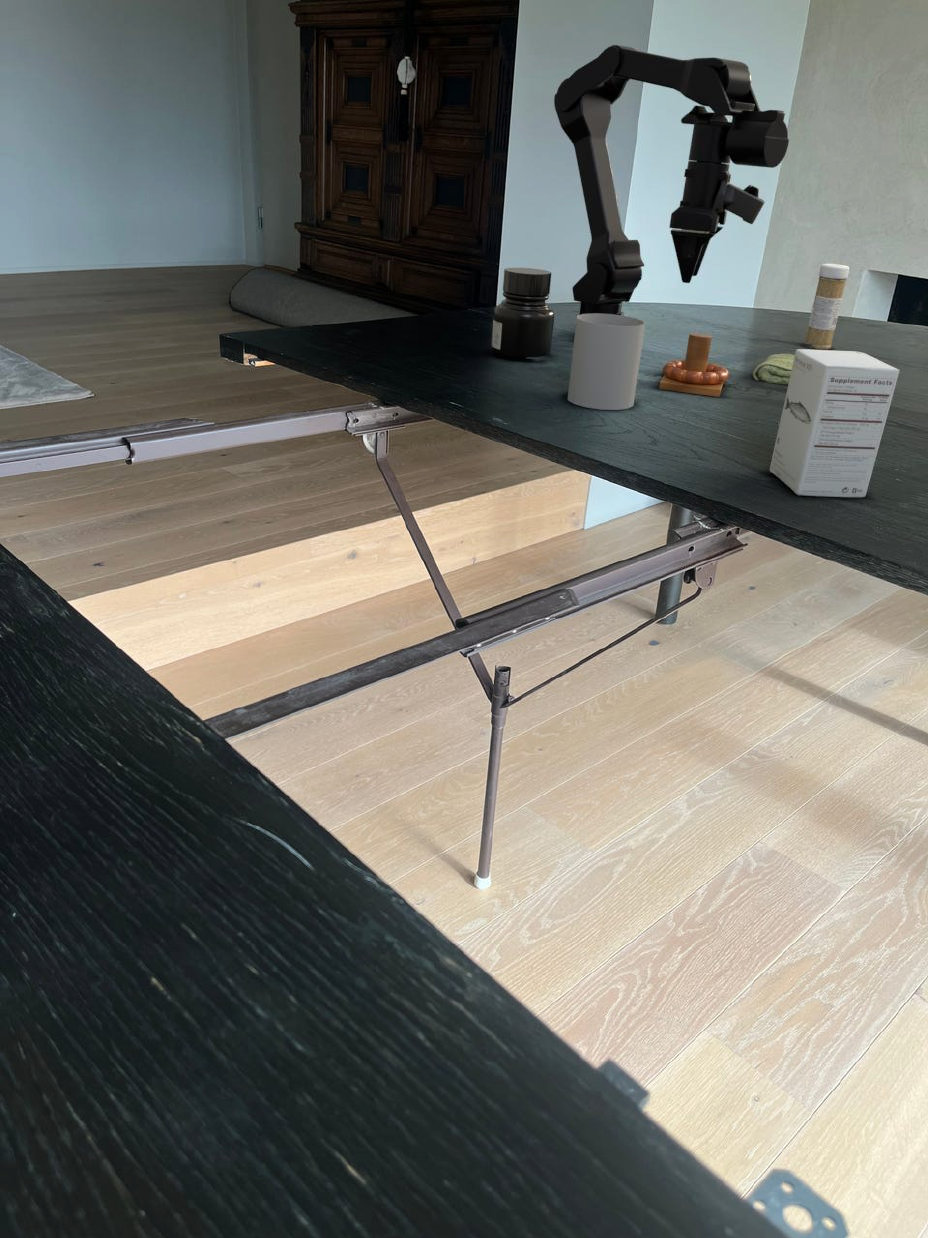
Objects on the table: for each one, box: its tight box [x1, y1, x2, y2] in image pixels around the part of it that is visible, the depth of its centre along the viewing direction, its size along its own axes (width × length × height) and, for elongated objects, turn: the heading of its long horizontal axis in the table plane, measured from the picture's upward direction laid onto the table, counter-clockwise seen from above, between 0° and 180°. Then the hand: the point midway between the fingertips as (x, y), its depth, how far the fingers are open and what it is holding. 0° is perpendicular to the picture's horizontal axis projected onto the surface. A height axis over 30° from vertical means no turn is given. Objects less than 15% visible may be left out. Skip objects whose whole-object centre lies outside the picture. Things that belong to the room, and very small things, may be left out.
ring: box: [662, 359, 730, 385], centre depth 132 cm, size 9×9×2 cm
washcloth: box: [752, 353, 795, 386], centre depth 136 cm, size 13×18×3 cm
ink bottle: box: [490, 267, 555, 362], centre depth 140 cm, size 10×9×12 cm
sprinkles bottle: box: [803, 263, 850, 350], centre depth 161 cm, size 5×5×14 cm
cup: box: [567, 313, 646, 411], centre depth 119 cm, size 8×8×10 cm
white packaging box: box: [769, 348, 900, 498], centre depth 93 cm, size 7×7×13 cm
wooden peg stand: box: [658, 332, 724, 398], centre depth 130 cm, size 8×8×7 cm
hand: (689, 278), depth 141 cm, fingers open, 9 cm apart
